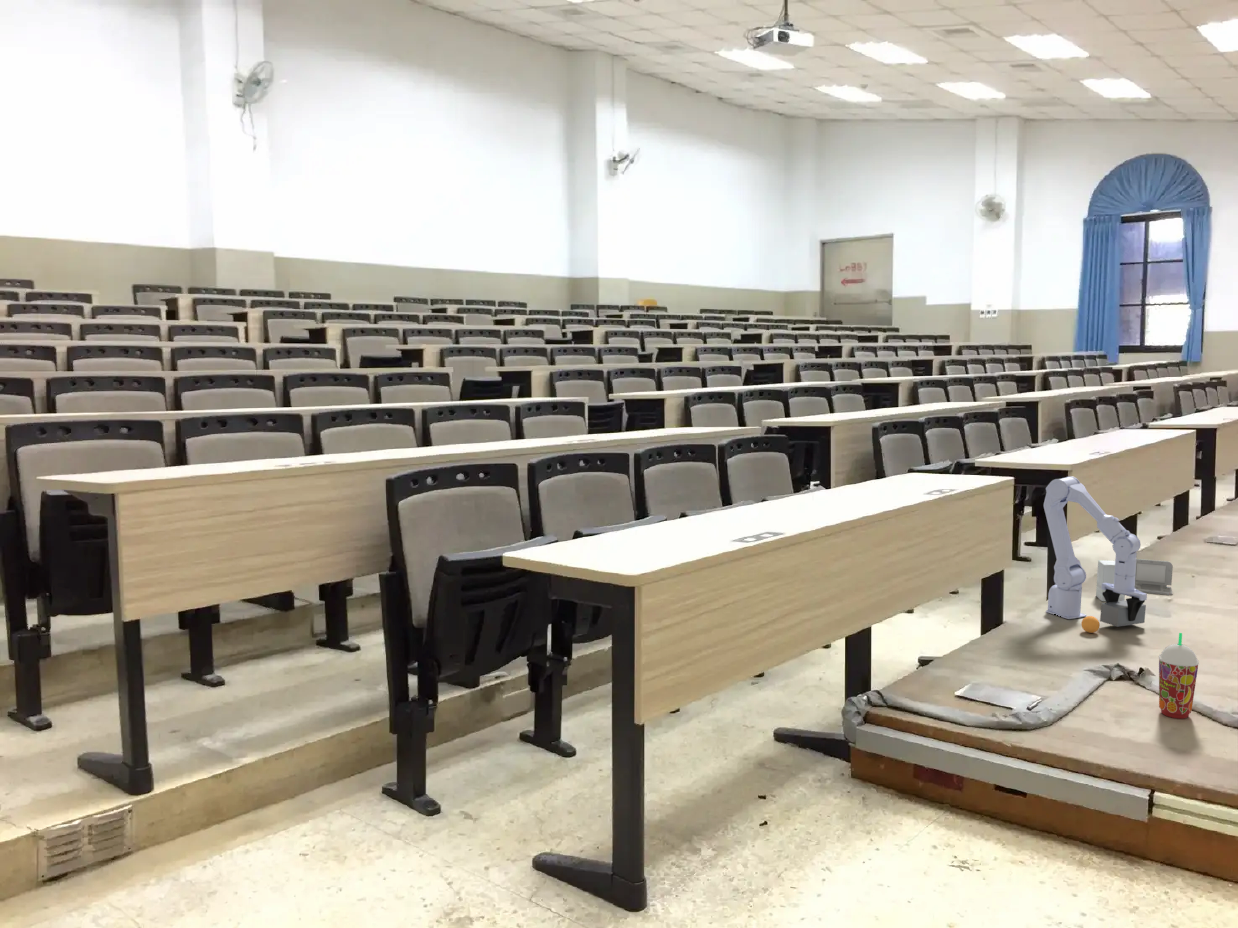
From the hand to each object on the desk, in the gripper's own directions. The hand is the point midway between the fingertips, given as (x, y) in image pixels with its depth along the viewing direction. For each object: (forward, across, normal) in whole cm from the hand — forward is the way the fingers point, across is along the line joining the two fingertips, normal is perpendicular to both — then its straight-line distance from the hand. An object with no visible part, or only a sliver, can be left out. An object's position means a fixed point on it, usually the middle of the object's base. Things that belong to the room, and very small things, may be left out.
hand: (1122, 617), depth 309 cm
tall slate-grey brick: (+1, 0, 0) cm, 1 cm away
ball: (0, 0, +13) cm, 13 cm away
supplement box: (+3, +24, -23) cm, 34 cm away
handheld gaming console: (+3, +26, -45) cm, 53 cm away
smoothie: (+3, -55, +48) cm, 73 cm away
